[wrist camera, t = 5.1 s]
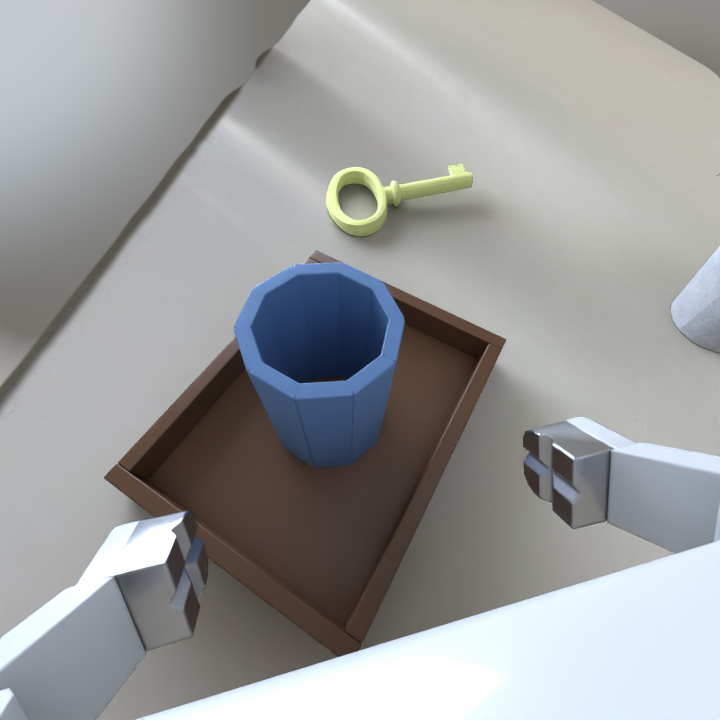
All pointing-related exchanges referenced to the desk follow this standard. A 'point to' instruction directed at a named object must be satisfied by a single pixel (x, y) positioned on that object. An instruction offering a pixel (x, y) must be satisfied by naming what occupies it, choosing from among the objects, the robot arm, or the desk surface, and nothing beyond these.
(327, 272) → the blue faceted tube
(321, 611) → the tray
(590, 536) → the desk surface
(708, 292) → the house plant
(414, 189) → the key
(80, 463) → the desk surface
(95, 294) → the desk surface
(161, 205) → the desk surface
